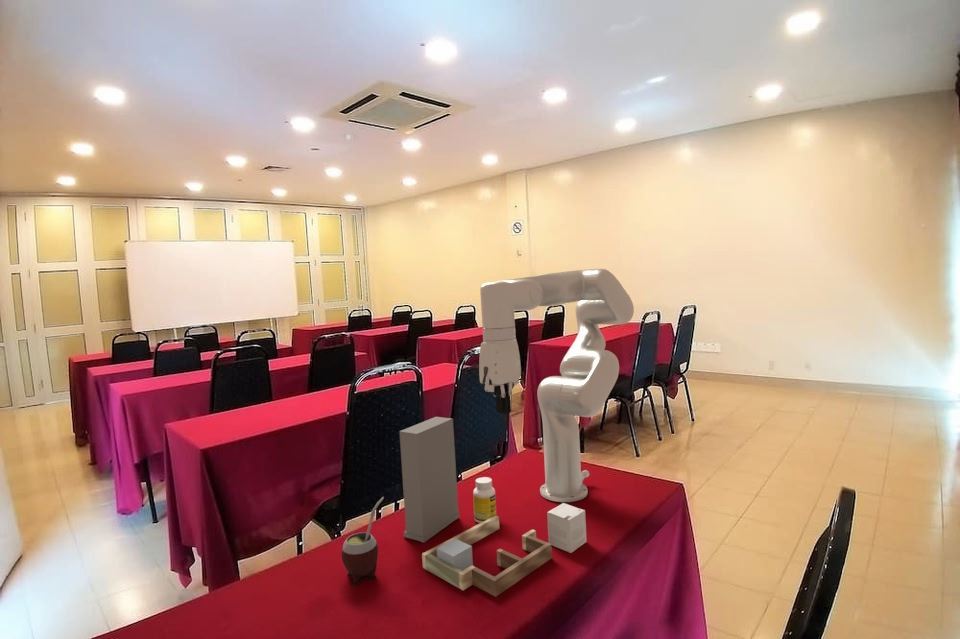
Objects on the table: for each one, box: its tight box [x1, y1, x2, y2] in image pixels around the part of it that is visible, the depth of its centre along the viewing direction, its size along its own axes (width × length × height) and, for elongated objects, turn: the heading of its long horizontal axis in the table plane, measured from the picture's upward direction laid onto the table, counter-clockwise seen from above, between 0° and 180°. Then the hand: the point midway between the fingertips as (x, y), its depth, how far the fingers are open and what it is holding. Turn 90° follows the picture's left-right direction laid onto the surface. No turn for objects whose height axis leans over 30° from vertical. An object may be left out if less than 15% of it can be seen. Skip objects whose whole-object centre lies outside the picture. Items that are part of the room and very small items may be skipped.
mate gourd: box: [341, 496, 385, 587], centre depth 102 cm, size 8×8×15 cm
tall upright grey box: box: [398, 416, 460, 543], centre depth 120 cm, size 14×6×25 cm, turn 147°
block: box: [437, 539, 474, 571], centre depth 102 cm, size 5×5×5 cm
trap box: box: [421, 514, 553, 597], centre depth 105 cm, size 22×18×3 cm
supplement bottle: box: [472, 476, 497, 524], centre depth 124 cm, size 5×5×10 cm
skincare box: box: [546, 502, 587, 554], centre depth 110 cm, size 6×6×7 cm
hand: (503, 412), depth 119 cm, fingers closed
